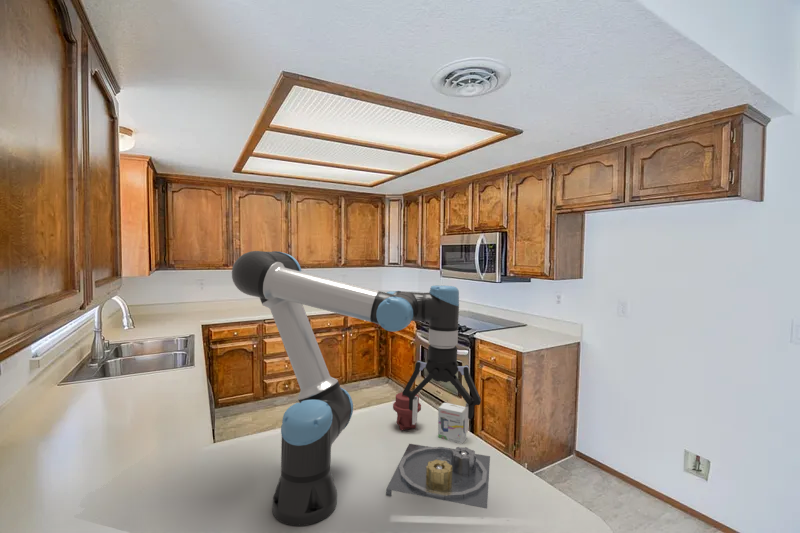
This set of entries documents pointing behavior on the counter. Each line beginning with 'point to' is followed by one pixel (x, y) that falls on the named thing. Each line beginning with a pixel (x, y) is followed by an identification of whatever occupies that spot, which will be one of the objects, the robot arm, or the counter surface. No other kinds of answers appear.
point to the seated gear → (463, 461)
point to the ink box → (451, 422)
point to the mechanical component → (404, 411)
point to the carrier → (417, 457)
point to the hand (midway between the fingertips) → (440, 426)
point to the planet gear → (439, 475)
